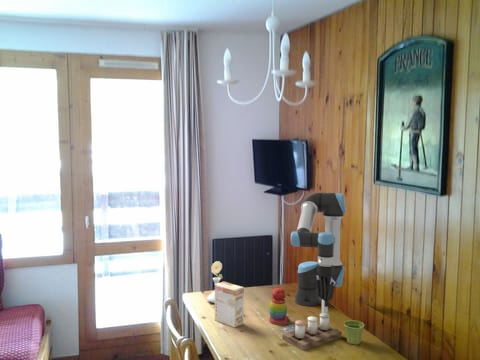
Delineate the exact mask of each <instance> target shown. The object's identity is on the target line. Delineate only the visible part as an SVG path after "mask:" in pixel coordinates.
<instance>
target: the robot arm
mask: <svg viewBox="0 0 480 360" xmlns="http://www.w3.org/2000/svg"><path fill="white" fill-rule="evenodd" d="M317 213H322V216H323V218H324V219H325V222H324V223H325V228H324V230H325V232H324V231H321V232H312V230H313V226H314V221H315V215H316V214H317ZM345 214H347V205H346V198H345V195H344V194H343V193H340V192H314V193H312V194H309V195H308V196H306V197H305V198H304V199H303V201H302V202H301V205H300V217H299V221H298V224H297V228H296V230H295V231H292V232H291V233H290V244H291V246H293V247H297V248H298V247H299V248H301V247H302V248H313V249H314V248H316V249H317V261H313V260H312V261H311V260H310V261H304V262H301V263H300V264H299V265H298V266H297V290H296V293H295V295H294V302H295V304H297V305H300V306H306V307H314V306H318V305H321V313H328V310H329V308H328V307H330V306H329V304H330V300H333V298H334V293H335V288H340V287H342V286H343V280H344V276H345V269H346V267H345V266H343V263H342V262H341V260H340V259H341V225H342V223H341V220H342V219H343V218H344V215H345Z"/></svg>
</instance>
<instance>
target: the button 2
mask: <svg viewBox="0 0 480 360" xmlns="http://www.w3.org/2000/svg"><path fill="white" fill-rule="evenodd" d="M330 315H331V314H330V313H328V312H327V313H322V312H320V313H319V323H320V329H322V330H328V329H329V326H330Z"/></svg>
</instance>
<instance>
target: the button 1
mask: <svg viewBox="0 0 480 360" xmlns="http://www.w3.org/2000/svg"><path fill="white" fill-rule="evenodd" d="M294 324H295V336H296V337H297V338H304V337H305V326H306V321H305V320H302V319H297V320H295V321H294Z"/></svg>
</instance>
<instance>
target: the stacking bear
mask: <svg viewBox="0 0 480 360" xmlns="http://www.w3.org/2000/svg"><path fill="white" fill-rule="evenodd" d="M271 296H272V299H271V300H270V301H269V307H268V310H269V316H270V317H269V320H268V321H269V322H270V323H271V324H273V325H277V326H282V327H286V326H288V324H289V322H288V321H289V320H290V317H289V316H288V315H287V313H288V306H287V301H286V297H287V293H286V292H285V291H284V289H283V288H281V287H279V286H277V287H276V288H274V289H272V293H271Z"/></svg>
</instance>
